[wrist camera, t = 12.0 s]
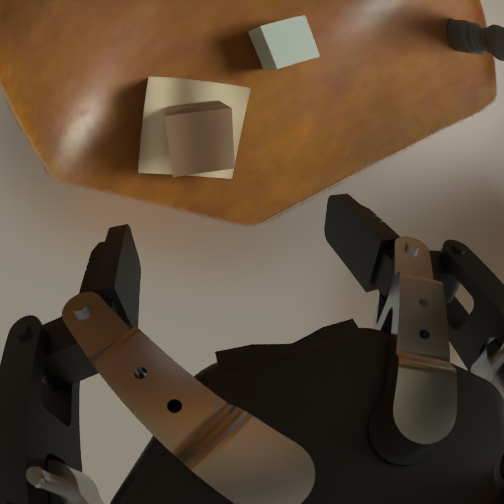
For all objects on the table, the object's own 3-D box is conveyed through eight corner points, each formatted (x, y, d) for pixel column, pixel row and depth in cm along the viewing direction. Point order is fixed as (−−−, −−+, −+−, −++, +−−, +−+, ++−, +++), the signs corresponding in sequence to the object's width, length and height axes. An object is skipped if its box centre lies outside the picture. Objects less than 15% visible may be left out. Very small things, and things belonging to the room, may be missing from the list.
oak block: (239, 85, 29) (250, 88, 25) (224, 164, 35) (231, 178, 31) (152, 76, 26) (148, 76, 22) (142, 159, 31) (138, 172, 27)
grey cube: (286, 21, 25) (304, 15, 21) (300, 57, 28) (319, 56, 24) (247, 32, 25) (260, 26, 21) (262, 68, 28) (277, 69, 24)
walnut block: (218, 100, 25) (231, 108, 20) (221, 147, 28) (234, 168, 23) (167, 106, 24) (164, 116, 19) (172, 154, 27) (172, 177, 22)
